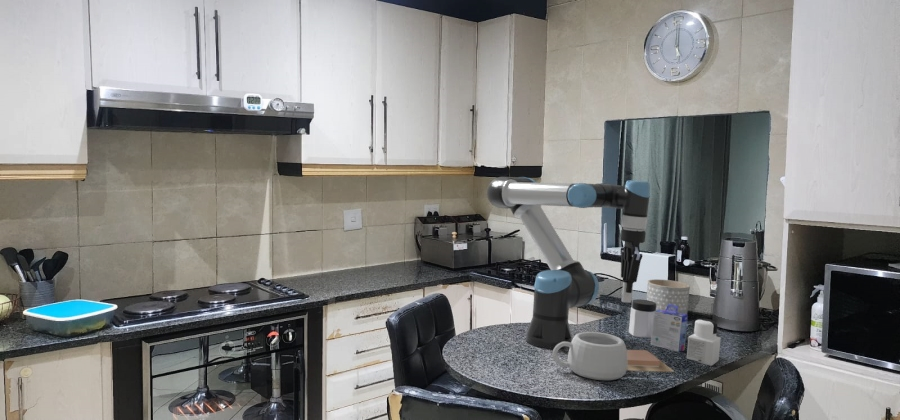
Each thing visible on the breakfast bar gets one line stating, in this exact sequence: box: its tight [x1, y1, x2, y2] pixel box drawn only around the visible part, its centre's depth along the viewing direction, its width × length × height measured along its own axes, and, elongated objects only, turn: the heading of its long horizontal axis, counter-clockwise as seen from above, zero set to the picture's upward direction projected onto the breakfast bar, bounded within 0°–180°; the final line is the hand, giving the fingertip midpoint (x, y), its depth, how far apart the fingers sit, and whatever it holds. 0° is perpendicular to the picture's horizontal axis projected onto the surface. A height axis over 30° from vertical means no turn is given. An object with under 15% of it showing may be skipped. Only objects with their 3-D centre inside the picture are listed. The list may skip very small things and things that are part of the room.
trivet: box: [626, 351, 675, 373], centre depth 185 cm, size 16×18×1 cm
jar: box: [628, 299, 656, 339], centre depth 217 cm, size 9×8×12 cm
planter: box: [645, 279, 691, 315], centre depth 252 cm, size 16×16×13 cm
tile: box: [627, 349, 660, 367], centre depth 185 cm, size 10×2×10 cm
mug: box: [552, 331, 628, 381], centre depth 174 cm, size 21×17×10 cm
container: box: [686, 318, 722, 367], centre depth 191 cm, size 8×8×13 cm
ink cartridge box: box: [650, 304, 689, 352], centre depth 202 cm, size 10×6×14 cm, turn 49°
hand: (626, 301), depth 195 cm, fingers closed
